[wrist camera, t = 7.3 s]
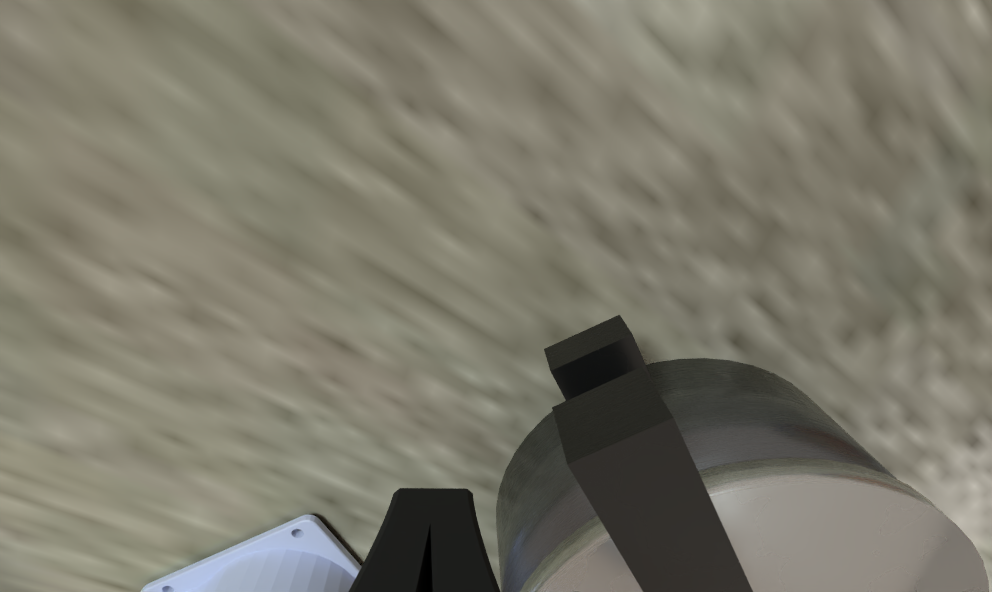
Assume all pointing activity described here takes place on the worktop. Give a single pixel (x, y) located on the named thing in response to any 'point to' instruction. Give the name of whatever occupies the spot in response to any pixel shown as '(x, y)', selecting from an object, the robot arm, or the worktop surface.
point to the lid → (736, 515)
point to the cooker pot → (698, 414)
